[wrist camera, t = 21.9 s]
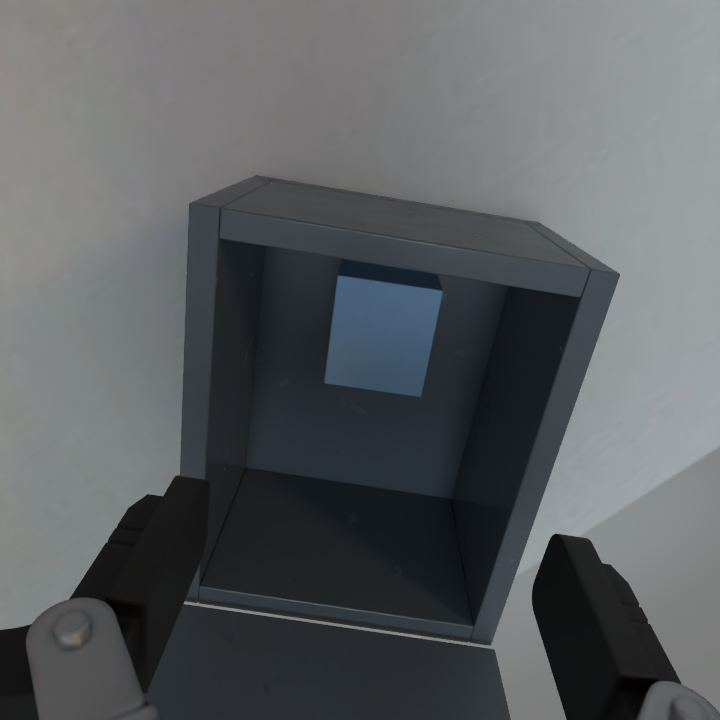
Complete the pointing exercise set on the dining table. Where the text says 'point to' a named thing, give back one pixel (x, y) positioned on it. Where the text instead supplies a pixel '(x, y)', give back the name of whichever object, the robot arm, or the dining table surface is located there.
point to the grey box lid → (317, 673)
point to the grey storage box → (375, 407)
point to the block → (382, 328)
